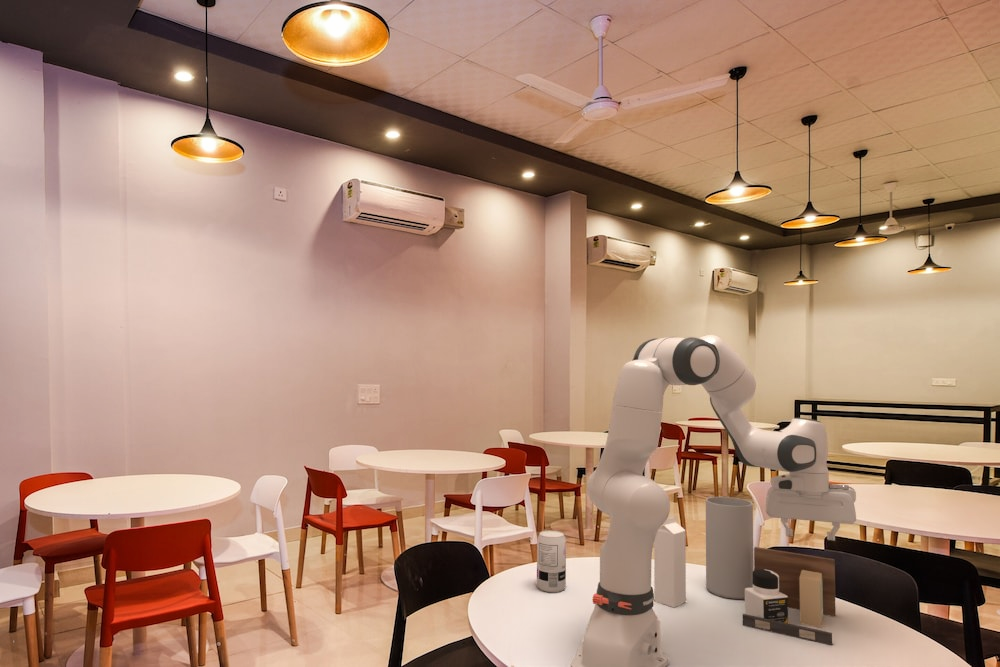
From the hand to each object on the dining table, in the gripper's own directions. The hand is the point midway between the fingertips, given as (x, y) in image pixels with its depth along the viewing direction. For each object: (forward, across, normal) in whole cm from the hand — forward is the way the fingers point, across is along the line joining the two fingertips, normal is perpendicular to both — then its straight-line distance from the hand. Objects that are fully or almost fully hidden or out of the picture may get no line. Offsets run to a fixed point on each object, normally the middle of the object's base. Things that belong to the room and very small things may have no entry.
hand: (810, 538), depth 148 cm
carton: (+20, 0, 0) cm, 20 cm away
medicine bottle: (+20, +11, +5) cm, 24 cm away
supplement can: (+20, +66, +2) cm, 69 cm away
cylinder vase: (+20, +18, -14) cm, 31 cm away
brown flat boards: (+20, +5, +2) cm, 21 cm away
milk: (+20, +34, 0) cm, 40 cm away
